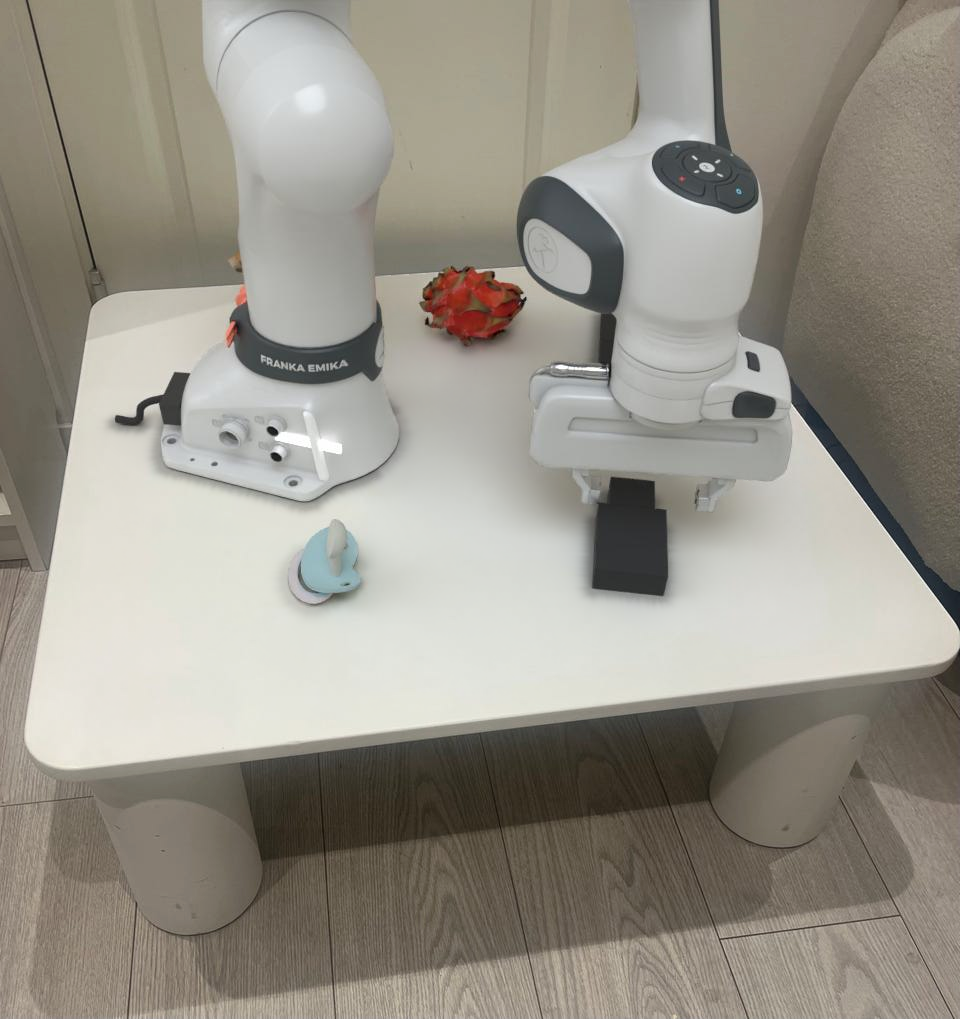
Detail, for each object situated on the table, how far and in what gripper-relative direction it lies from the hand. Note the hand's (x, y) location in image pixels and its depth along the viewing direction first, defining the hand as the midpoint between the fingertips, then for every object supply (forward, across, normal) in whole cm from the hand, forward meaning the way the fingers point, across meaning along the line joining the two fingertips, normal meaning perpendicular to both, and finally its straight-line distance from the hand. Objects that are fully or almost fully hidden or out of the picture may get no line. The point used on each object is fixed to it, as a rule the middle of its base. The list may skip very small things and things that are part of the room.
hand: (646, 502), depth 85 cm
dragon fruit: (+6, -17, +31) cm, 36 cm away
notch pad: (+6, +2, +30) cm, 30 cm away
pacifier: (+5, -27, -6) cm, 28 cm away
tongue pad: (+6, -1, +1) cm, 6 cm away
